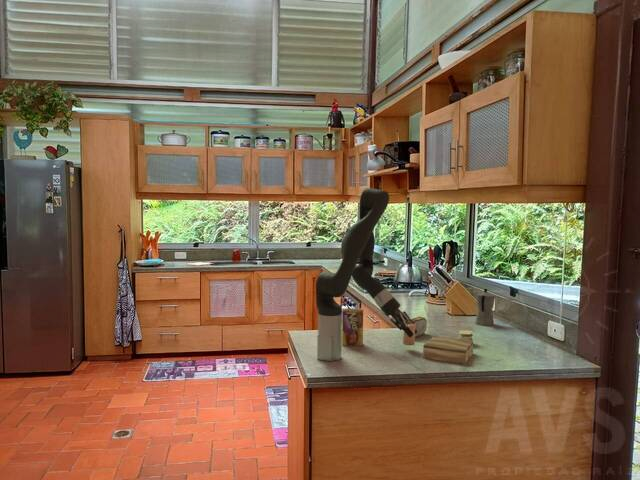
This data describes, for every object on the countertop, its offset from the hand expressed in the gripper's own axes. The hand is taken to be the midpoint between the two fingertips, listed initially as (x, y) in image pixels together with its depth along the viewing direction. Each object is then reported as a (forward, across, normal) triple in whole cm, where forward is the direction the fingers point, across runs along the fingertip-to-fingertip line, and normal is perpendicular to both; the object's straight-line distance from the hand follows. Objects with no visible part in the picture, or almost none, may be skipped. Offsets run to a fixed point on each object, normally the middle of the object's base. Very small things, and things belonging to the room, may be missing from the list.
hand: (413, 334), depth 210 cm
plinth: (+15, 0, -6) cm, 16 cm away
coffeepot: (+16, +64, -9) cm, 67 cm away
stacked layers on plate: (+17, +21, -7) cm, 28 cm away
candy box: (-13, -3, +23) cm, 27 cm away
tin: (+1, +24, +8) cm, 26 cm away
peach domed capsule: (+2, 0, +4) cm, 5 cm away
